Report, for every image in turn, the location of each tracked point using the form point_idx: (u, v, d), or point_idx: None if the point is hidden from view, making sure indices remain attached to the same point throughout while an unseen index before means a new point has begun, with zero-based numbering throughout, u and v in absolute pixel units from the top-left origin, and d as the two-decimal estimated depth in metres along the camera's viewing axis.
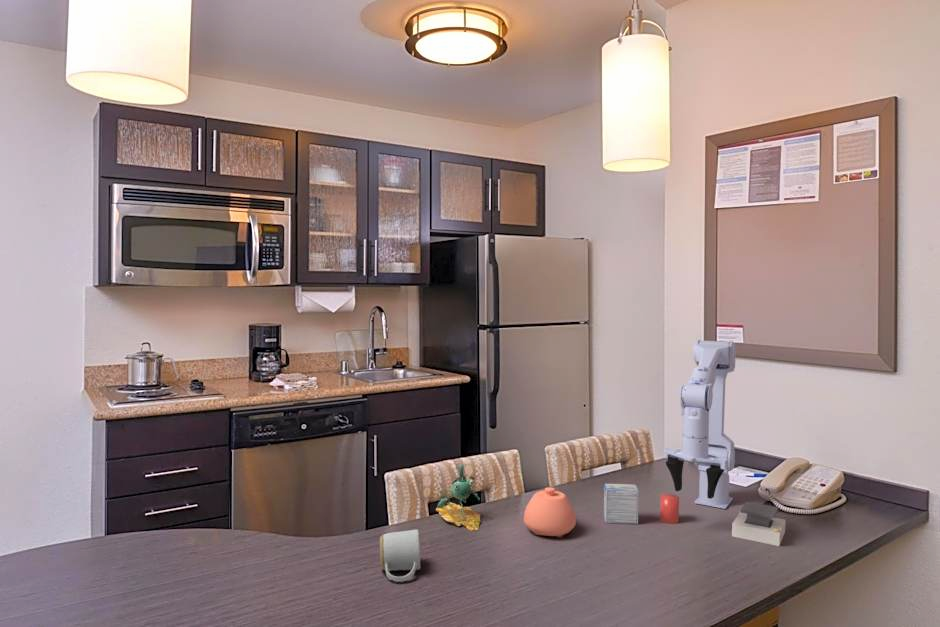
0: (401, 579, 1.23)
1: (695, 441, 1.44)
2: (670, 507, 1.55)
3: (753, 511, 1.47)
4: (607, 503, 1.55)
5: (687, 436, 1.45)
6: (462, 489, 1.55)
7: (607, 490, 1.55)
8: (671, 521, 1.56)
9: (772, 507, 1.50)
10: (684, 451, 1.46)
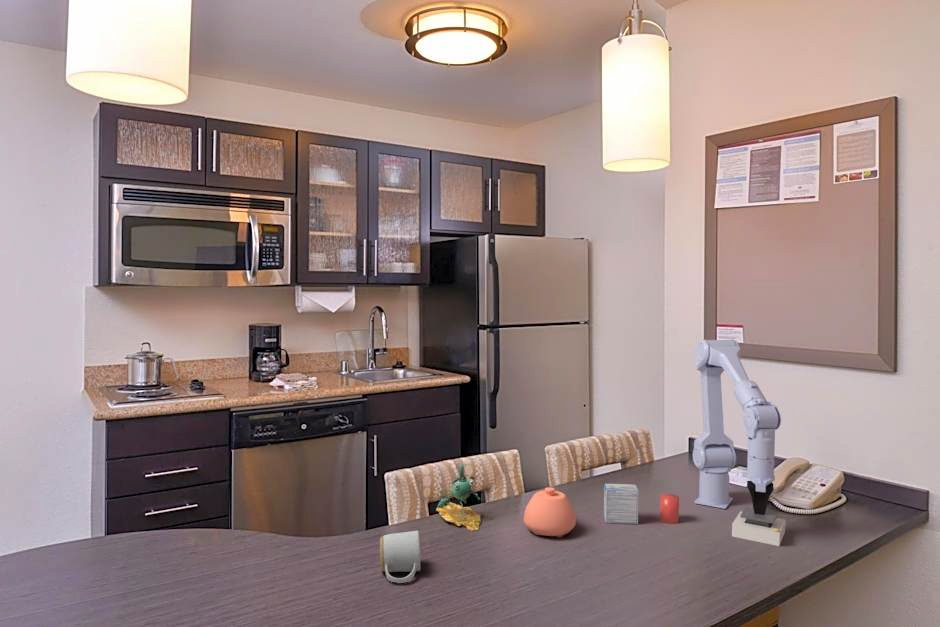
0: (401, 581, 1.23)
1: (748, 459, 1.49)
2: (670, 507, 1.55)
3: (753, 516, 1.47)
4: (607, 503, 1.55)
5: None
6: (462, 489, 1.55)
7: (607, 490, 1.55)
8: (671, 521, 1.56)
9: (771, 512, 1.50)
10: None
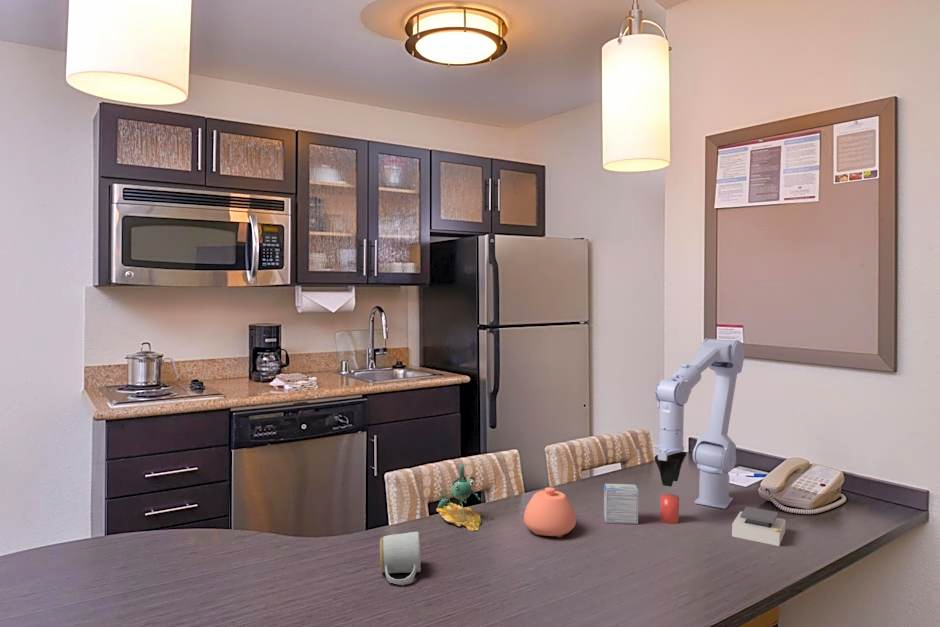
0: (401, 582, 1.22)
1: (659, 430, 1.57)
2: (670, 507, 1.55)
3: (753, 516, 1.47)
4: (607, 503, 1.55)
5: None
6: (462, 489, 1.55)
7: (607, 490, 1.55)
8: (671, 521, 1.56)
9: (771, 513, 1.50)
10: None
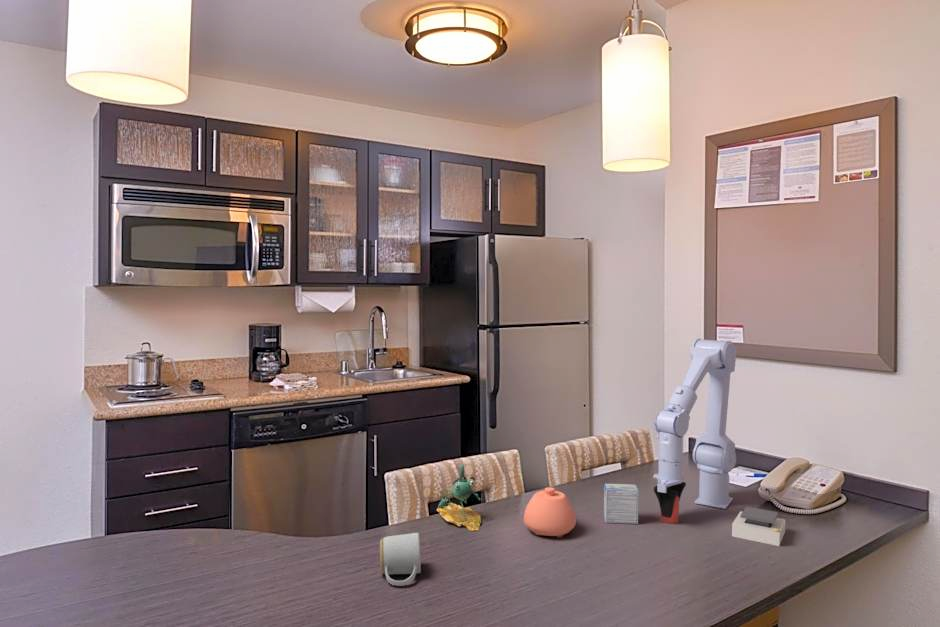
0: (401, 583, 1.22)
1: None
2: None
3: (753, 516, 1.47)
4: (607, 503, 1.55)
5: None
6: (462, 489, 1.55)
7: (607, 490, 1.55)
8: (671, 521, 1.56)
9: (771, 513, 1.50)
10: None
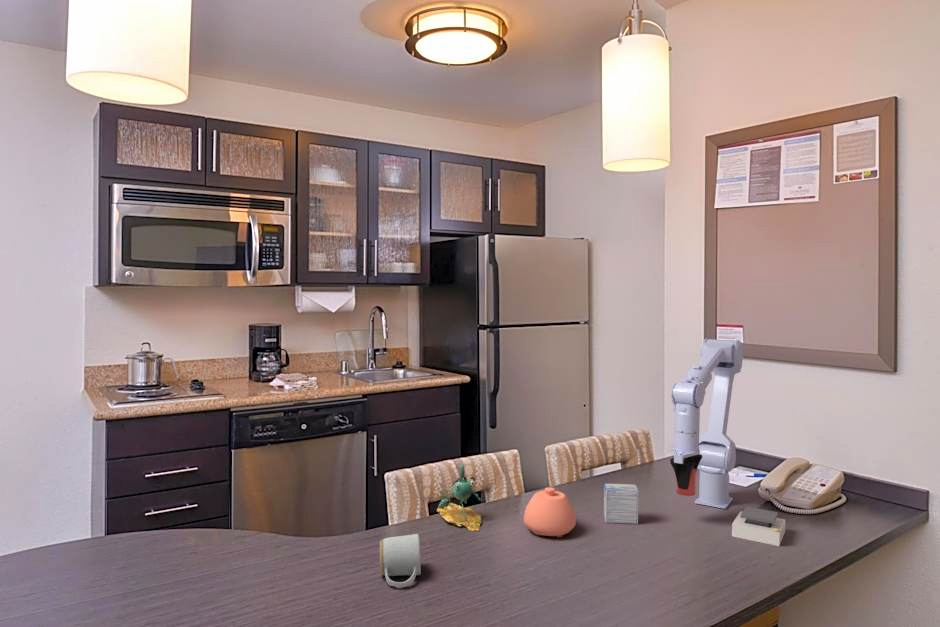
0: (401, 585, 1.21)
1: None
2: None
3: (753, 516, 1.47)
4: (607, 503, 1.55)
5: None
6: (462, 489, 1.55)
7: (607, 490, 1.55)
8: (687, 493, 1.54)
9: (771, 513, 1.50)
10: None
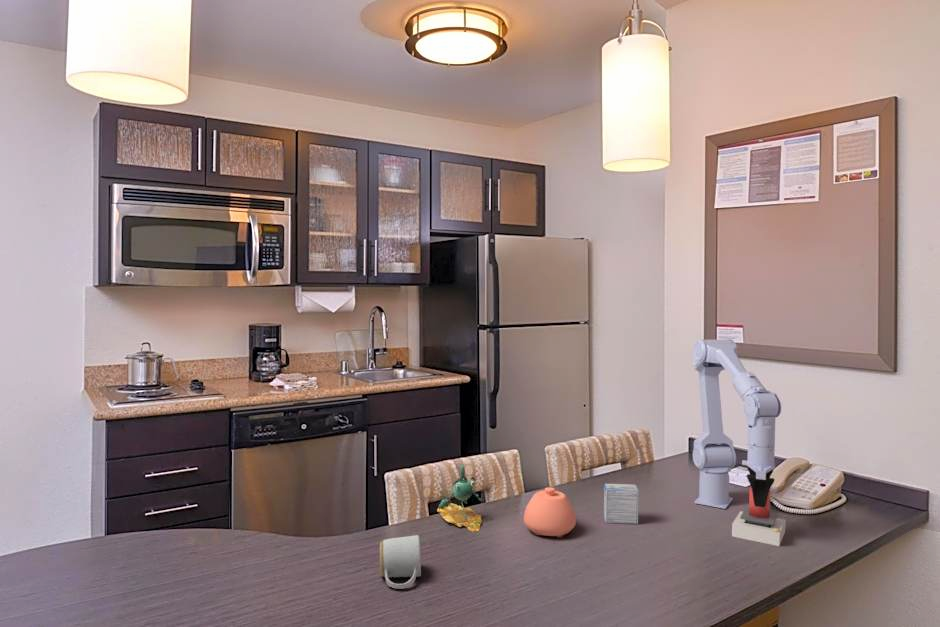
0: (401, 586, 1.20)
1: (748, 447, 1.49)
2: None
3: (753, 517, 1.47)
4: (607, 503, 1.55)
5: None
6: (463, 490, 1.54)
7: (607, 490, 1.55)
8: (764, 515, 1.47)
9: (771, 514, 1.50)
10: None
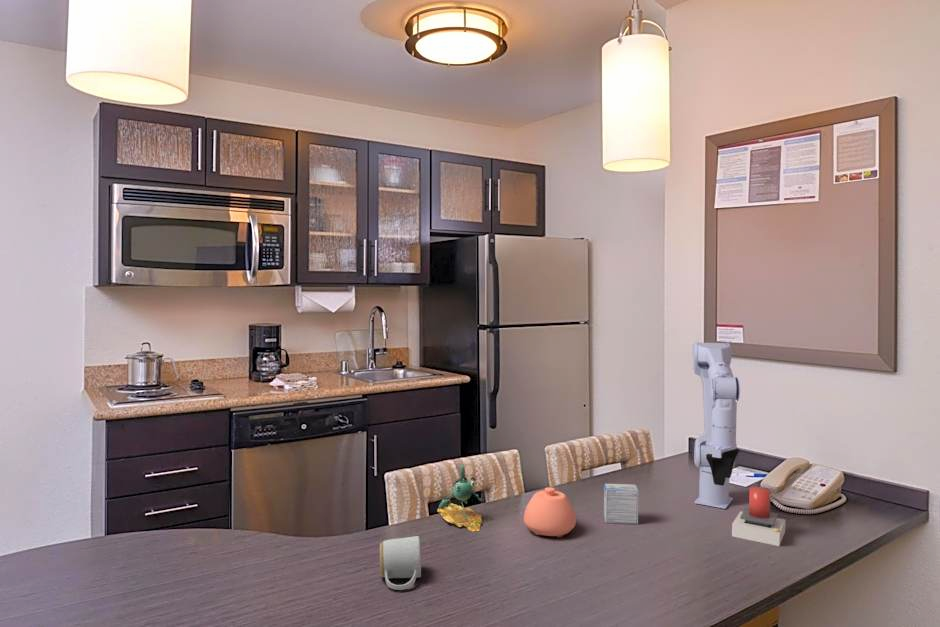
0: (401, 587, 1.20)
1: (711, 428, 1.56)
2: (763, 501, 1.47)
3: (753, 517, 1.47)
4: (607, 503, 1.55)
5: None
6: (463, 490, 1.54)
7: (607, 490, 1.55)
8: (764, 515, 1.47)
9: (771, 514, 1.50)
10: None
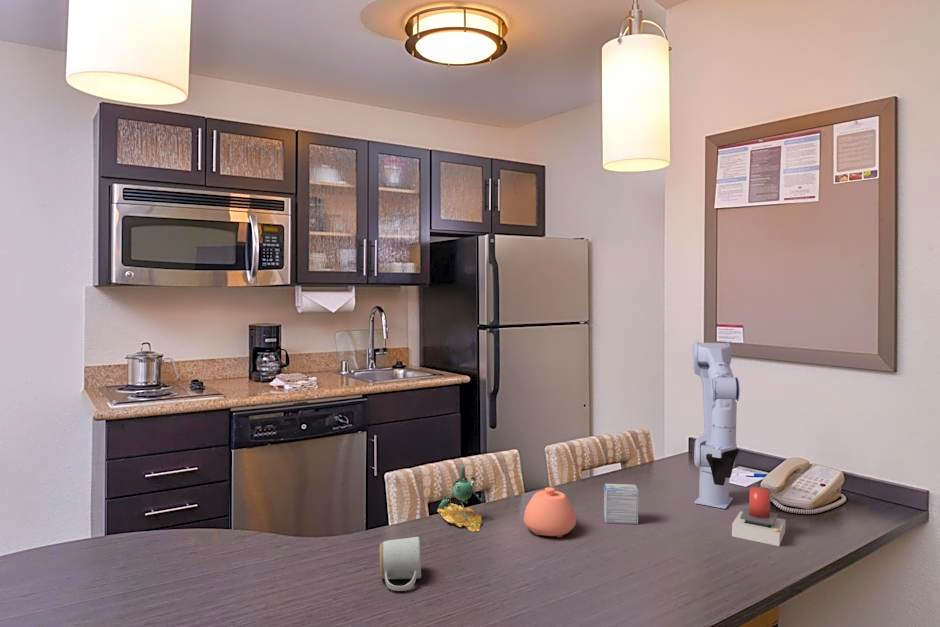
0: (401, 588, 1.19)
1: (711, 428, 1.56)
2: (763, 501, 1.47)
3: (753, 517, 1.47)
4: (607, 503, 1.55)
5: None
6: (463, 490, 1.54)
7: (607, 490, 1.55)
8: (764, 515, 1.47)
9: (771, 514, 1.50)
10: None
